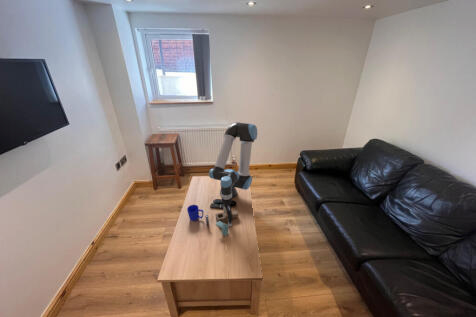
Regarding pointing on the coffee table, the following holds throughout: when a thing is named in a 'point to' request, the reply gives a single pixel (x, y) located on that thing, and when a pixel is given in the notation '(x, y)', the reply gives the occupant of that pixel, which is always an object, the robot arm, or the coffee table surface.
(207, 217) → the rod
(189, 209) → the mug
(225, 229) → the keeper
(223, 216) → the link
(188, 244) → the coffee table surface
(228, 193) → the robot arm
